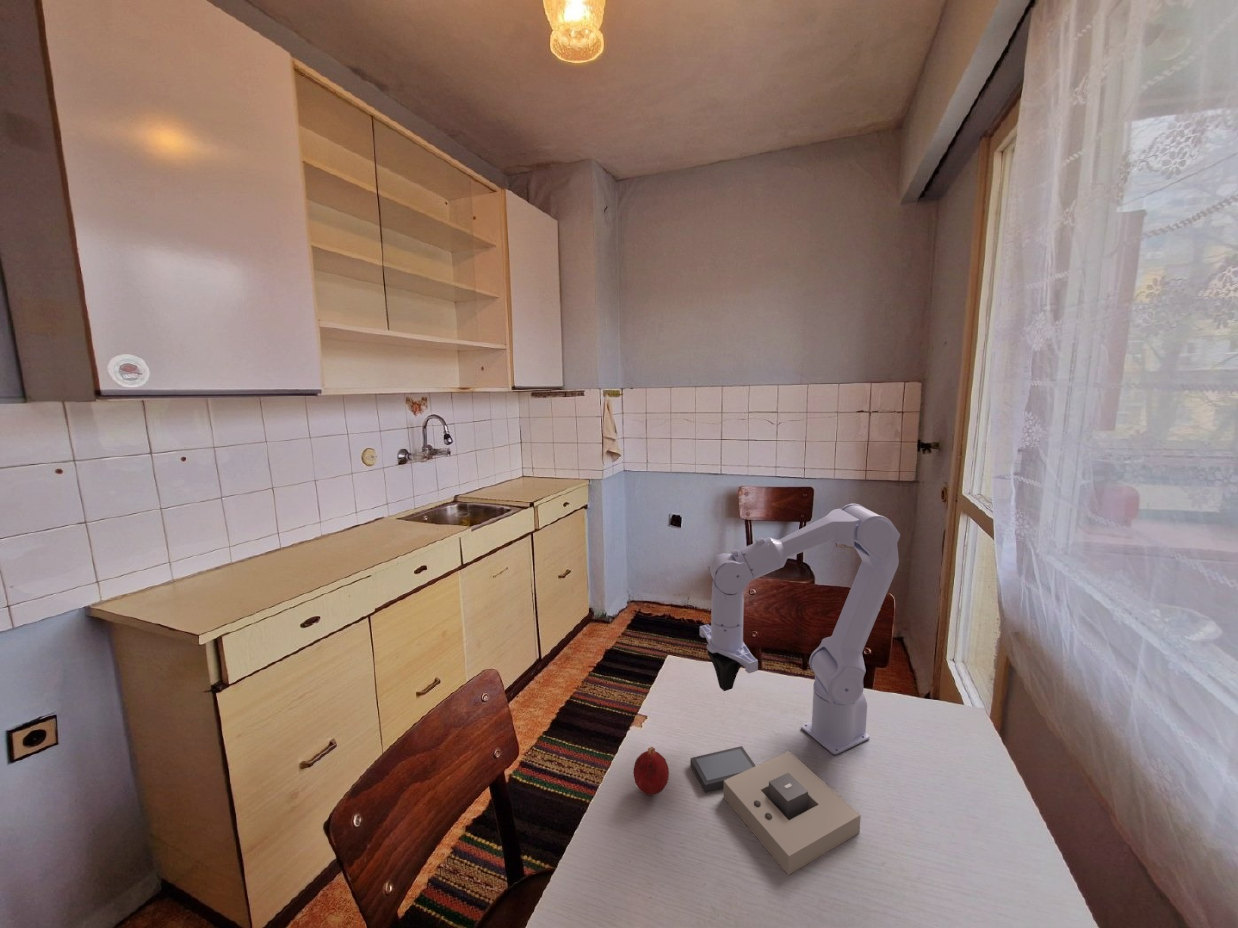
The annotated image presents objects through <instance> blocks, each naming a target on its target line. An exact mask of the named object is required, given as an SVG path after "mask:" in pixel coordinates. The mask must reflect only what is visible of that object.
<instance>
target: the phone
mask: <svg viewBox="0 0 1238 928" xmlns="http://www.w3.org/2000/svg"><path fill="white" fill-rule="evenodd" d="M689 762H690V764H689V765H690V766H689V767H690V768H691V769H692V771H693V774H694V775H695V777H696V778H697V781H698V782H699V784H700V786H701V788H702V790H703V792H704V794H708V793H711V792H716V791H719V790H724V780H726V779H728V778H731V777H733V776H735V775H737V774H739V773H742V772H744V771H746V770H748V769H751V768H753V767H755V766H757V765H756V764H755V762H754V761H753V760H752V758H751V757H750V756H749V754H748V752H747V751H746V750H745V749H744V747H743V746H742V745H741V746H735V747H732V748H729V749H728V748H727V749H724V750H719V751H713V752H710V753H707V754H702V755H697V756H693V757H690V760H689Z"/></svg>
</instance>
